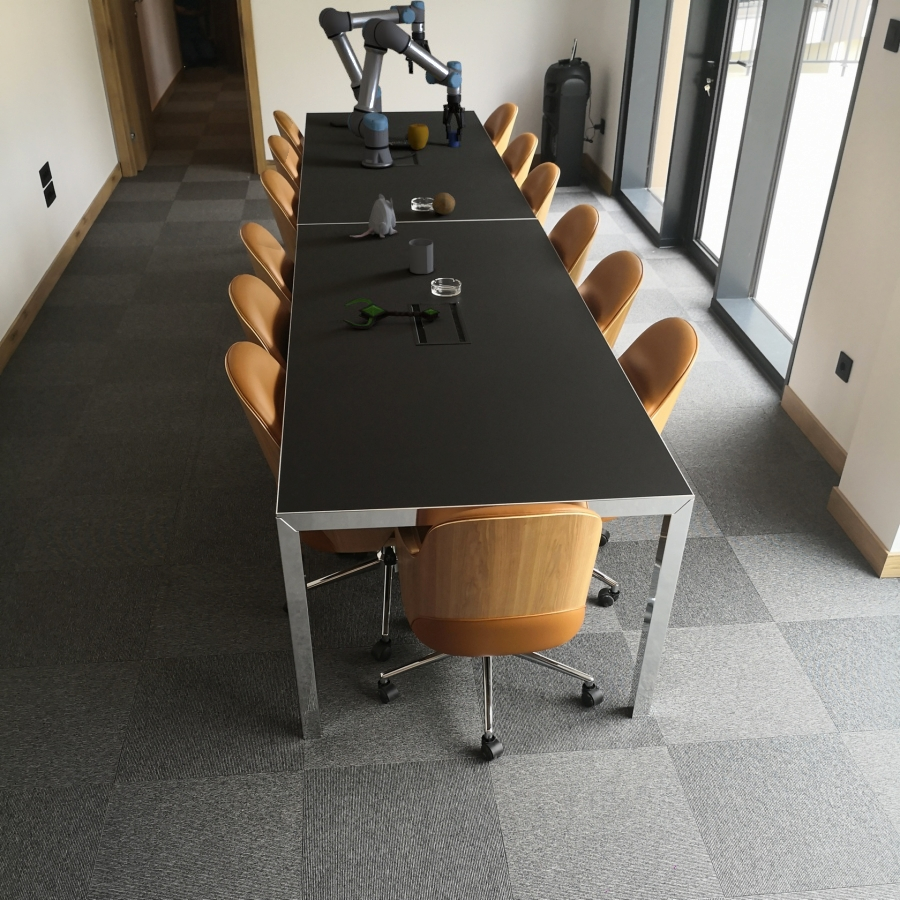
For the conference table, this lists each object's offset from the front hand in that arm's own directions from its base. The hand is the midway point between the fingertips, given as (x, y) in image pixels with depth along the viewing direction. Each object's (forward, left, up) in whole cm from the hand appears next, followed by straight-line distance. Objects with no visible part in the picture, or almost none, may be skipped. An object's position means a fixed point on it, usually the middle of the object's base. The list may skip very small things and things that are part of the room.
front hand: (453, 139), depth 460 cm
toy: (+140, +57, -3) cm, 151 cm away
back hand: (-39, -51, +24) cm, 68 cm away
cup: (+157, +93, -3) cm, 182 cm away
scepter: (+198, +111, -3) cm, 227 cm away
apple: (+17, -11, -3) cm, 20 cm away
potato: (+99, +62, -3) cm, 117 cm away
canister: (0, 0, -3) cm, 3 cm away
